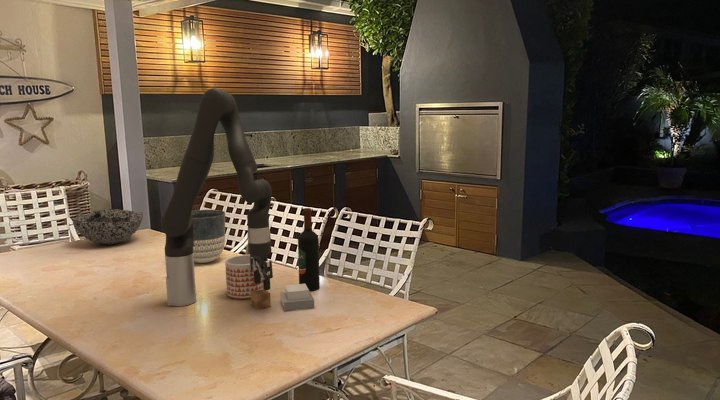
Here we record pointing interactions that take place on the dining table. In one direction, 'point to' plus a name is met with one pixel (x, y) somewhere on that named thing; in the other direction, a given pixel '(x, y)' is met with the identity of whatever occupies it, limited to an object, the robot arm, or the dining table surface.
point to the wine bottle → (308, 254)
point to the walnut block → (260, 299)
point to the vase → (240, 277)
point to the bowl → (108, 225)
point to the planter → (208, 234)
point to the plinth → (297, 303)
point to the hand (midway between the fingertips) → (262, 286)
